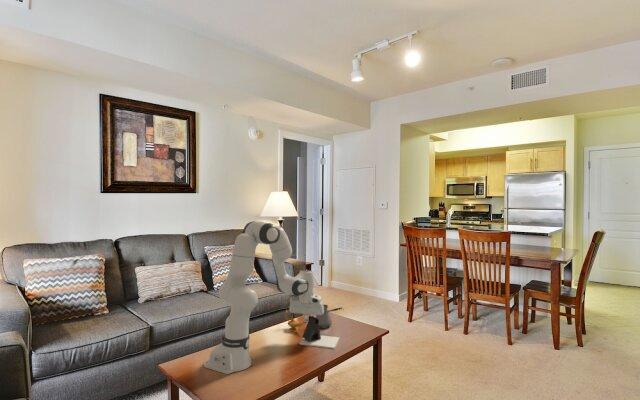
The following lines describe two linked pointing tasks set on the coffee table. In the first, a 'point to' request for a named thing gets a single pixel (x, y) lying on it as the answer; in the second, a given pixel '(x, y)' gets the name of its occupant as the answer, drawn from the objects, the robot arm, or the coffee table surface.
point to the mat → (322, 342)
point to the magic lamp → (293, 323)
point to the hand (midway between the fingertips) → (306, 321)
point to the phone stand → (312, 330)
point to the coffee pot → (325, 317)
